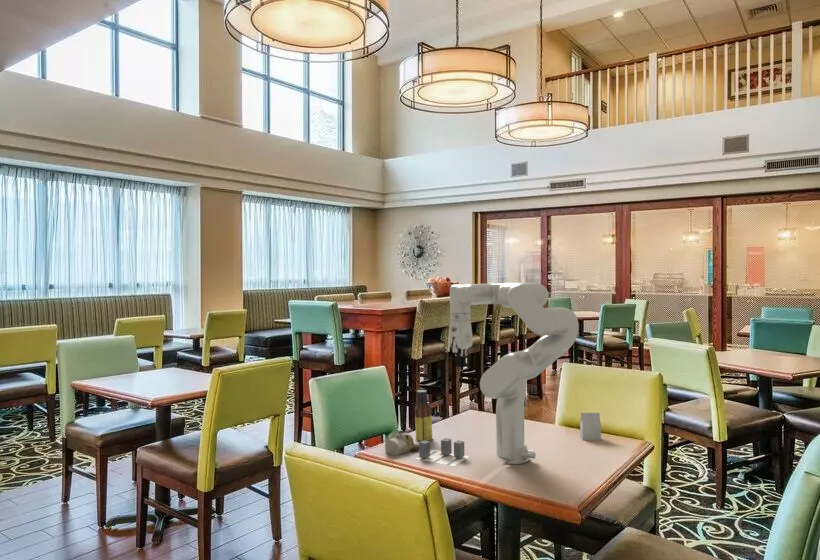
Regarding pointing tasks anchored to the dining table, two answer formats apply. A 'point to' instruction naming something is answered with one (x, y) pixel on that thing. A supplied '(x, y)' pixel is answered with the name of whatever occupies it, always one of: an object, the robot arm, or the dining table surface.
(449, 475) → the dining table surface
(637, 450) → the dining table surface
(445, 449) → the slider
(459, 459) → the switch panel
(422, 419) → the sauce bottle
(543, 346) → the robot arm
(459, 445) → the slider
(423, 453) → the slider
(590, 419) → the grey upright block
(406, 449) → the ceramic sculpture
